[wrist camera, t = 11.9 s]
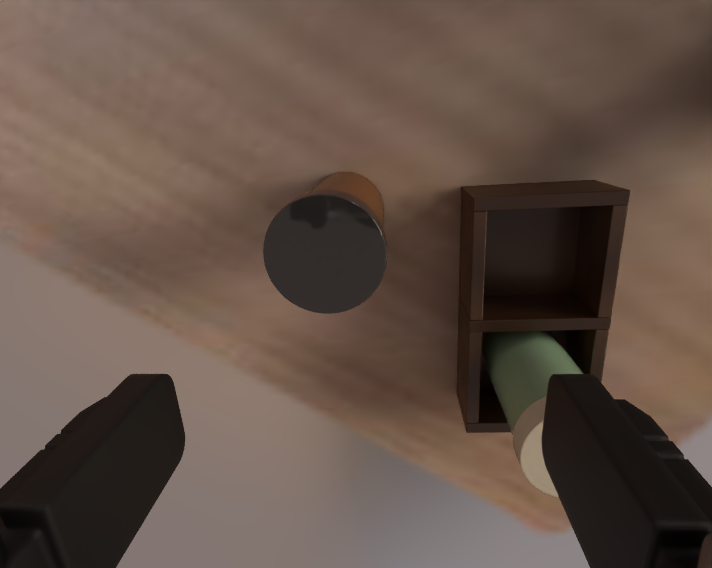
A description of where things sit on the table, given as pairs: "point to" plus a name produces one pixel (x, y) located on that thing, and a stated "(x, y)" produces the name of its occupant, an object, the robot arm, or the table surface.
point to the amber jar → (329, 245)
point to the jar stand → (535, 277)
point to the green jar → (526, 391)
